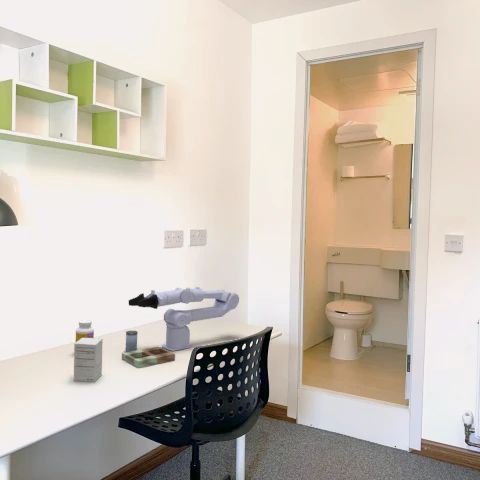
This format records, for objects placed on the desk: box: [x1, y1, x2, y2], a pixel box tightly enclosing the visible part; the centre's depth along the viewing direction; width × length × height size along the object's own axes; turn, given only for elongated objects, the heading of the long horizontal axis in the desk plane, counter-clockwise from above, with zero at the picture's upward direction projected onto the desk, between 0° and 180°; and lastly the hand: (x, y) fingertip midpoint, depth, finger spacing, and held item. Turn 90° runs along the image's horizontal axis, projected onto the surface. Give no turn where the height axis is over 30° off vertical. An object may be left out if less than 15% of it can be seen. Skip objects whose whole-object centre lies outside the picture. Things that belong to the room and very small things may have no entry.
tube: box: [125, 330, 139, 352], centre depth 190 cm, size 5×5×8 cm
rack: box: [121, 346, 176, 369], centre depth 181 cm, size 16×12×2 cm
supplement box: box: [73, 337, 103, 383], centre depth 159 cm, size 7×7×13 cm
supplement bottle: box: [75, 319, 95, 343], centre depth 184 cm, size 7×7×13 cm
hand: (133, 303), depth 184 cm, fingers open, 7 cm apart
